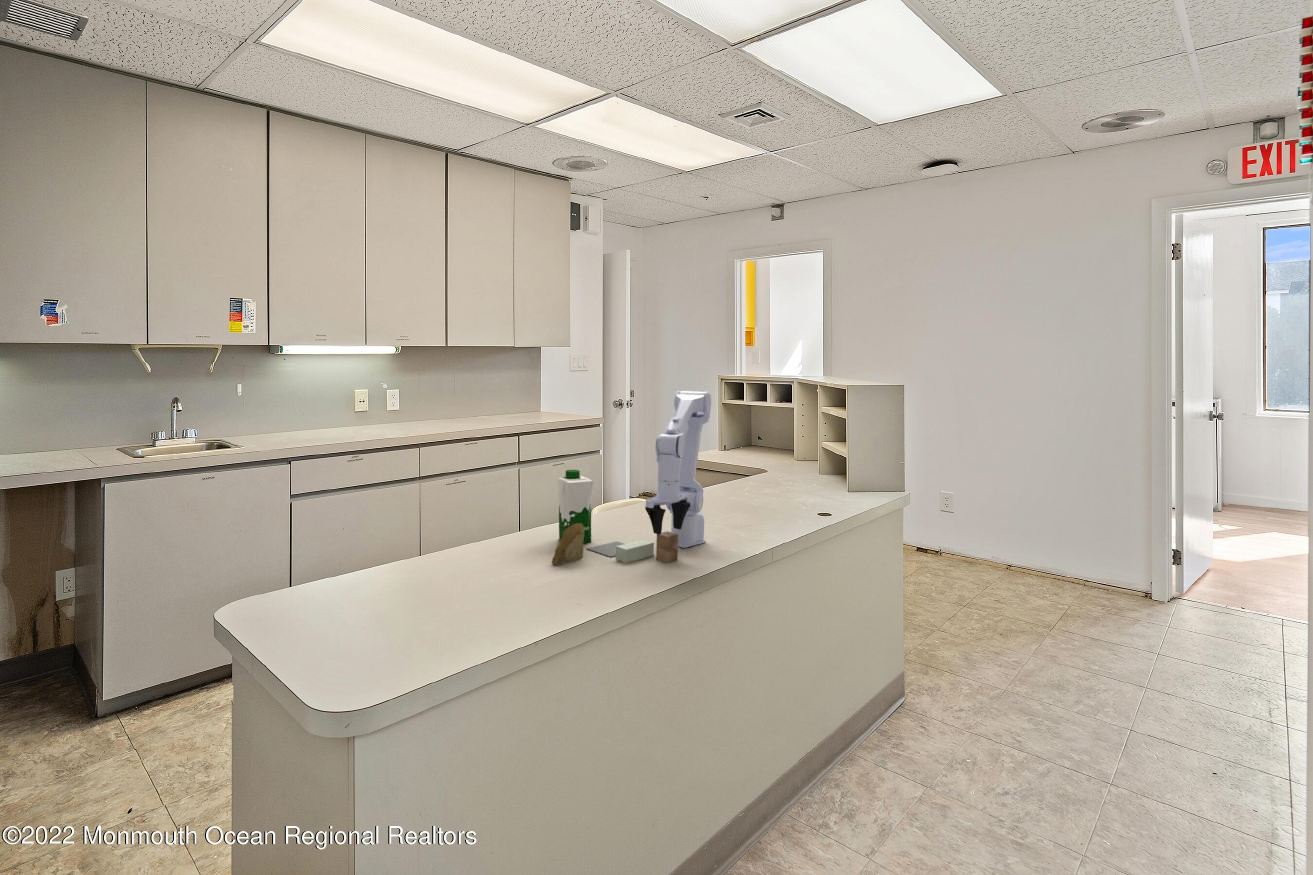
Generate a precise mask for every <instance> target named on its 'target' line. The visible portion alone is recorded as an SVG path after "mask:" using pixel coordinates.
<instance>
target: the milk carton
mask: <svg viewBox="0 0 1313 875" xmlns="http://www.w3.org/2000/svg"><path fill="white" fill-rule="evenodd" d="M580 472H581V471H580V470H578V469H566V470H565V476H564V477H558V478H557V480H558V481H557V483H558V538H559V540H560V541H561V538H562V536H563V531H564V530H565V529H567V528H568V527H570V526H571V525H573V524H576V523H578V524H579V523H582V524H583V526H584V540H583V544H585V543H586V544H588V543H592V499H593V498H592V497H593V496H592V493H593V485H594V480H592V479H590V477H589V478H588V477H586V476H582V475H581V473H580Z"/></svg>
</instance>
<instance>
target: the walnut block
mask: <svg viewBox="0 0 1313 875" xmlns="http://www.w3.org/2000/svg"><path fill="white" fill-rule="evenodd" d="M655 550H656V552H655V554H656V555H655V560H656V561H659V562H662V563H665V564H669V563H673V562H675V561H678V556H679V555H678V552H679V546H678V534H676V533H672V532H671V531H661V534H656V548H655Z"/></svg>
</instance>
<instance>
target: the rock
mask: <svg viewBox="0 0 1313 875" xmlns="http://www.w3.org/2000/svg"><path fill="white" fill-rule="evenodd" d="M583 540H584V526H583V524H582V523H579V524H578V523H576V524H573V525H571V526H570V527H568V528H567V529H565V530H564V531H563V536H562V538H561V540H560V541H559V544H558V545H557V547H556V549H555V551H554V555H553V557H552V559H551V562H550V563H551V564H553V565H555V566H560V565H564V564H568V563H570V562H573V560H574V561H576V560H578V559H581V558H583V557H584V543H583Z"/></svg>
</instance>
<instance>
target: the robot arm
mask: <svg viewBox="0 0 1313 875" xmlns="http://www.w3.org/2000/svg"><path fill="white" fill-rule="evenodd" d="M711 395H712V394H711V393H710V392H709V391H707V390H706V391H693V390H680V389H679V390H677V391H676V393H675V394H674V398H673V399H674V400H673V403H674V404H673V405H674V409H675V416H674V417H672V418H669V421H668V422H667V424H666V427H665V428H664V430H663V433H661V434H660V435H657V437H656V439H655V445H654V446H655V454H656V463H657V464H658V466H657V494H655V496H653V497H651V498H648V499H645V506H644V507H645V508H644V509H645V512H646V513H647V515H648V516H649V519H650V523H651V527H652V531H653V532H652V533H653V534H656V535H657V534H661V533H662V532H663V531H662V530H663V521H664V515H665V513H666V511H667V510H668V511H669V514H671V523H670V524H671V525H670V527H671V529H670V530H671V531H670V532H672V533H676V534H678V548H682V549H685V548H689V547H692V546H696V545H700V544H704V543H707V540H706V539H705V537H704V536H705V517H704V515H703V514H702V512H701V511H702V510H703V506H704V505H703V504H704V489H703V488H704V487H703V486H702V484H700V483H699V481H697V480H696V476H697V475H696V473H697V468H698V467H697V466H698V459H699V452H700V451H699V450H700V443H701V435H702V430H703V426H704V424H707V423H708V422H709V421H710V420H709V419H710V417H711V416H710V415H711V409H712V396H711ZM662 506H665V507H666V508H667V510H666V508H662Z"/></svg>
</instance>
